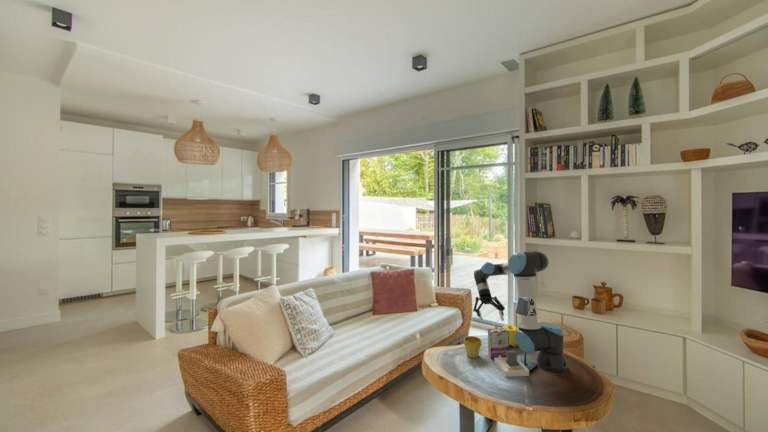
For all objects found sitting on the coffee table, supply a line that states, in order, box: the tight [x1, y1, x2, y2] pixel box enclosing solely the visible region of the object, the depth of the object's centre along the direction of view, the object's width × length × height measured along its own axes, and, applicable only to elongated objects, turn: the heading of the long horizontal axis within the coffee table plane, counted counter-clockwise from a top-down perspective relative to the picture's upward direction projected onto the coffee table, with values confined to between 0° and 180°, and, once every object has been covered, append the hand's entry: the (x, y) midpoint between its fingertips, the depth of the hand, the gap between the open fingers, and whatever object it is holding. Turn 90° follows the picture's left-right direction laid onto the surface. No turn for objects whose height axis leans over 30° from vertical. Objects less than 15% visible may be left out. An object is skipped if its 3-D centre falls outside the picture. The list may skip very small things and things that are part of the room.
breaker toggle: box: [505, 350, 519, 366], centre depth 180 cm, size 6×4×7 cm, turn 92°
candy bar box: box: [487, 327, 510, 360], centre depth 196 cm, size 11×5×16 cm, turn 94°
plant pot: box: [463, 335, 482, 359], centre depth 199 cm, size 10×10×10 cm
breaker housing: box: [494, 355, 530, 378], centre depth 181 cm, size 13×15×4 cm
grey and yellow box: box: [492, 323, 519, 348], centre depth 213 cm, size 13×20×12 cm
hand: (492, 320), depth 206 cm, fingers open, 13 cm apart
